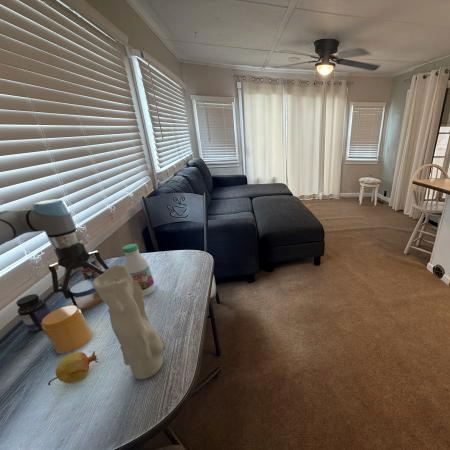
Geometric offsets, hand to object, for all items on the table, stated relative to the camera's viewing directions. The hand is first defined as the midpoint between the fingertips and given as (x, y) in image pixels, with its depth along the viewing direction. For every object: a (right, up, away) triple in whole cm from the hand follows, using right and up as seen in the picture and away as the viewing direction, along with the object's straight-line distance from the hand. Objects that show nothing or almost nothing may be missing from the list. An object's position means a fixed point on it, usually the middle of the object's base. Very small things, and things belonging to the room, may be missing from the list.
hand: (91, 296), depth 91 cm
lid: (0, +4, -2) cm, 5 cm away
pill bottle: (-6, -6, -12) cm, 15 cm away
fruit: (+22, -12, -29) cm, 38 cm away
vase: (+40, -11, -27) cm, 49 cm away
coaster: (0, -1, 0) cm, 1 cm away
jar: (+11, -8, -18) cm, 23 cm away
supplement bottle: (-5, +2, +9) cm, 10 cm away
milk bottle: (+18, +1, +4) cm, 18 cm away
